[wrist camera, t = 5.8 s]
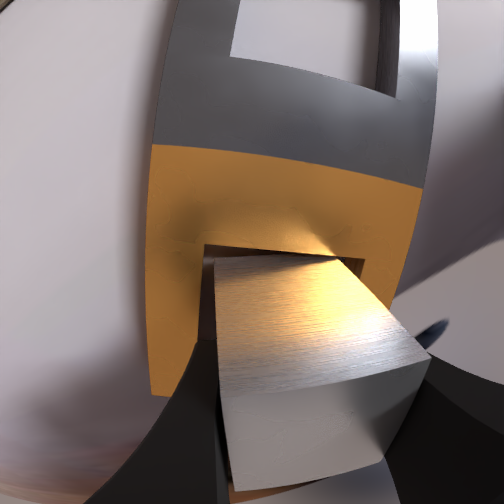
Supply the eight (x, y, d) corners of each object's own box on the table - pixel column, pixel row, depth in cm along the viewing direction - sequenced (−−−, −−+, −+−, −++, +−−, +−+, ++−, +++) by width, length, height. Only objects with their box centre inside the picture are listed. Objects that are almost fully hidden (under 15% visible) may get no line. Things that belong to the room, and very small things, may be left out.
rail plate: (415, -12, 8) (433, -22, 6) (342, 374, 14) (353, 394, 12) (209, -70, 6) (209, -90, 5) (155, 371, 12) (151, 394, 11)
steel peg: (329, 250, 10) (431, 357, 5) (320, 342, 12) (380, 461, 6) (213, 258, 10) (220, 397, 4) (221, 353, 11) (234, 491, 6)
